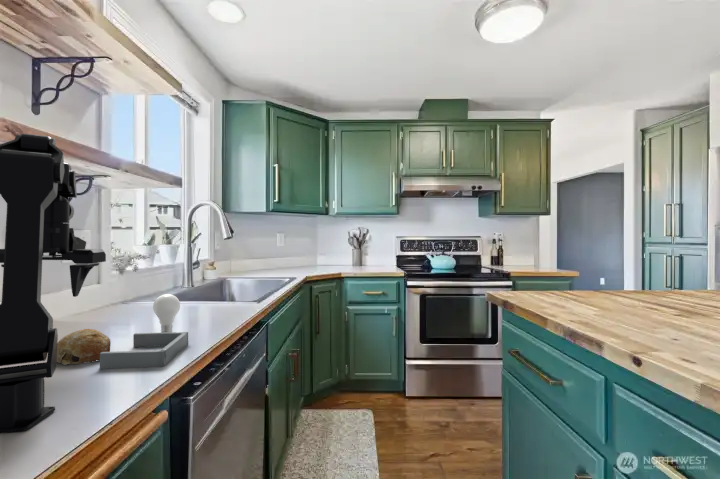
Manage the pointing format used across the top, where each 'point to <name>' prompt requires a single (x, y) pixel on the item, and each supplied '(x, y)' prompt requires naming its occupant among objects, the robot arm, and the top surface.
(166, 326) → the lightbulb
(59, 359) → the bread roll
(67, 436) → the top surface
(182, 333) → the grey u-shaped frame
